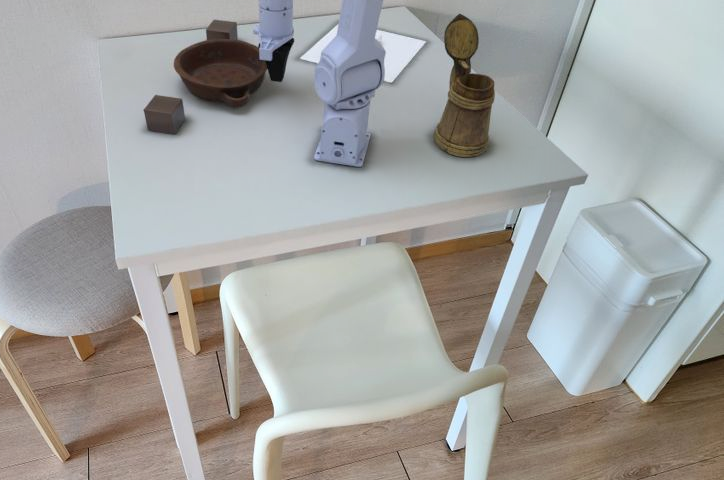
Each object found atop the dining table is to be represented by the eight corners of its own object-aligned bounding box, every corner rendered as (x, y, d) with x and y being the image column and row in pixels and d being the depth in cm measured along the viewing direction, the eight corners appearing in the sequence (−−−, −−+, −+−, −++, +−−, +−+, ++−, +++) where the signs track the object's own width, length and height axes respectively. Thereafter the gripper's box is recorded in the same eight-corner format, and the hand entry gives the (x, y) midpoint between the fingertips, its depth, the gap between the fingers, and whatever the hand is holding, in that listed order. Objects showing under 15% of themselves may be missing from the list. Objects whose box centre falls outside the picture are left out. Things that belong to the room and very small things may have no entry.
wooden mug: (460, 110, 107) (484, 9, 93) (497, 153, 98) (530, 48, 85) (414, 117, 105) (433, 15, 92) (448, 161, 96) (474, 55, 83)
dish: (190, 123, 103) (187, 97, 99) (166, 64, 117) (162, 40, 113) (285, 106, 107) (285, 81, 103) (251, 52, 121) (250, 28, 117)
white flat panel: (384, 41, 125) (387, 21, 122) (370, 56, 120) (372, 36, 117) (347, 31, 127) (348, 12, 124) (331, 46, 123) (332, 27, 120)
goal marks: (174, 134, 100) (171, 113, 97) (147, 130, 101) (143, 109, 98) (238, 41, 124) (236, 22, 121) (215, 38, 125) (213, 19, 122)
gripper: (264, -15, 104) (266, 58, 114) (240, 19, 94) (244, 96, 104) (303, -11, 103) (302, 63, 113) (282, 24, 93) (283, 102, 103)
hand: (277, 79), depth 108 cm, fingers closed, pressing on dish
